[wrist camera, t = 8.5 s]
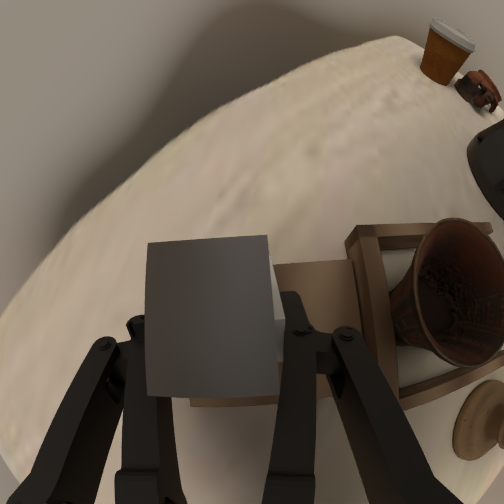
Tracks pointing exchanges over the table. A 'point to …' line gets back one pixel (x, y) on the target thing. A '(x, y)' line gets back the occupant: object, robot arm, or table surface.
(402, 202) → the table surface
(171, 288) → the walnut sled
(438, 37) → the disposable coffee cup
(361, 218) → the table surface
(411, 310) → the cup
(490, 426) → the candle holder
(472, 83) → the dark brown arched piece
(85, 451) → the robot arm
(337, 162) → the table surface
